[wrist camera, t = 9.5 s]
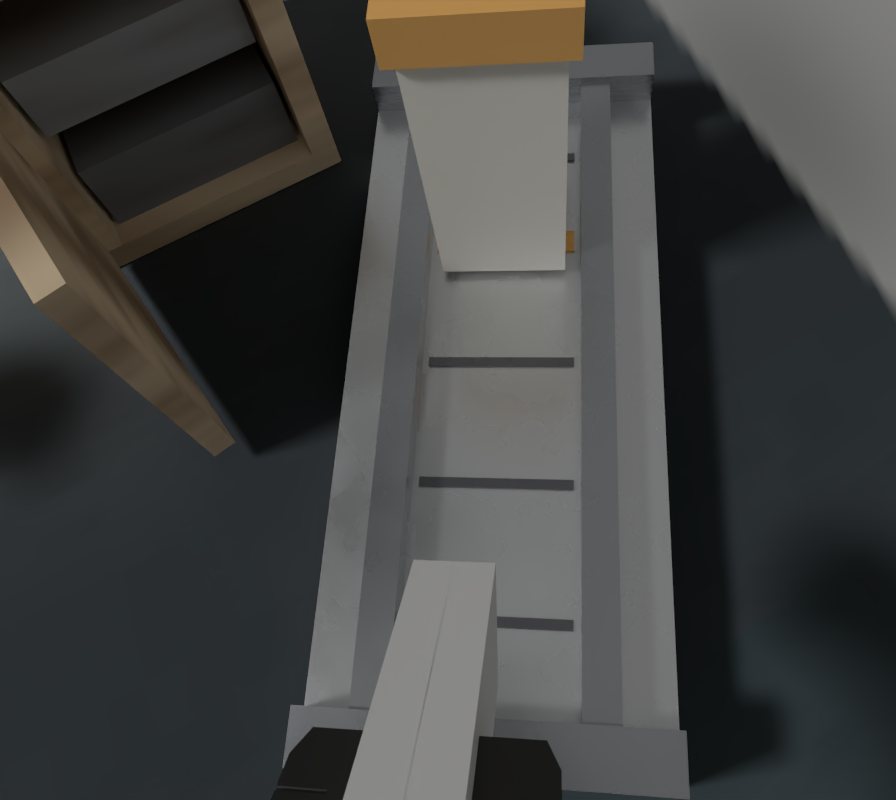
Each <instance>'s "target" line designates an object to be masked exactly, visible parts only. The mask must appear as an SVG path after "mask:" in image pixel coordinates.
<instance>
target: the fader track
mask: <svg viewBox="0 0 896 800" xmlns="http://www.w3.org/2000/svg"><path fill="white" fill-rule="evenodd" d="M653 80H654V56H653V42H645V43H625V44H606V45H586V46H584V50H583V61H569V97H568V149H567V200H566V252H565V270H536V271H457V272H444V271H443V267H442V263H441V258H440V254H439V250H438V246H437V242H436V237H435V233H434V229H433V225H432V221H431V216H430V212H429V208H428V204H427V200H426V196H425V191H424V187H423V183H422V179H421V175H420V170H419V166H418V162H417V158H416V154H415V149H414V145H413V141H412V137H411V133H410V128H409V124H408V120H407V116H406V112H405V107H404V103H403V99H402V95H401V91H400V86H399V82H398V78H397V74H396V70H379V68H378V64H377V60H375V67H374V75H373V82H372V90H373V93H374V97H375V100H376V104H377V107H378V111H379V112H378V120H377V128H376V136H375V144H374V152H373V160H372V168H371V176H370V184H369V192H368V200H367V208H366V216H365V224H364V232H363V240H362V248H361V256H360V264H359V272H358V280H357V288H356V296H355V304H354V312H353V320H352V328H351V336H350V343H349V351H348V359H347V367H346V375H345V383H344V391H343V399H342V407H341V415H340V423H339V431H338V439H337V447H336V455H335V463H334V471H333V479H332V487H331V495H330V503H329V511H328V519H327V527H326V535H325V543H324V551H323V559H322V567H321V575H320V583H319V591H318V599H317V607H316V615H315V623H314V631H313V639H312V647H311V655H310V663H309V671H308V679H307V687H306V695H305V703H304V706H301V705H291V707H290V714H289V722H288V730H287V737H286V745H285V752H284V760H283V768H284V765H285V763H286V760H287V758H288V755H289V753H290V752H291V751H292V749H293V748H294V747H295V746H296V745H297V744H298V743H299V742H300V741H301V740H302V739H303V737H304V736H305V735H306V734H307V733H308V732H309V731H310V730H311V729H312V728H313V727H323V728H338V729H353V730H363V729H364V726H365V723H366V719H367V716H368V712H369V709H370V706H371V702H372V699H373V696H374V692H375V689H376V685H377V682H378V679H379V675H380V672H381V668H382V665H383V662H384V658H385V655H386V651H387V648H388V645H389V641H390V638H391V634H392V631H393V628H394V624H395V621H396V617H397V614H398V611H399V607H400V604H401V600H402V597H403V594H404V590H405V587H406V583H407V580H408V577H409V573H410V570H411V566H412V563H413V560H434V561H460V562H487V563H496V602H497V647H498V690H497V701H496V711H495V721H494V731H493V737H503V738H518V739H533V740H547V741H548V743H549V745H550V747H551V749H552V752H553V754H554V756H555V758H556V760H557V762H558V764H559V766H560V768H561V770H562V790H574V791H587V792H600V793H613V794H626V795H639V796H652V797H665V798H678V799H690V791H689V771H688V750H687V731H683V730H679V708H678V687H677V665H676V643H675V621H674V599H673V578H672V556H671V534H670V512H669V490H668V468H667V447H666V425H665V403H664V381H663V359H662V337H661V316H660V294H659V272H658V250H657V228H656V206H655V185H654V163H653V141H652V119H651V94H652V87H653Z"/></svg>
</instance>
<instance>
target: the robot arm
mask: <svg viewBox="0 0 896 800" xmlns="http://www.w3.org/2000/svg"><path fill="white" fill-rule="evenodd" d="M497 690H498V647H497V602H496V563H487V562H460V561H434V560H413V563H412V566H411V570H410V573H409V577H408V580H407V583H406V587H405V590H404V594H403V597H402V600H401V604H400V607H399V611H398V614H397V617H396V621H395V624H394V628H393V631H392V634H391V638H390V641H389V645H388V648H387V651H386V655H385V658H384V662H383V665H382V668H381V672H380V675H379V679H378V682H377V685H376V689H375V692H374V696H373V699H372V702H371V706H370V709H369V712H368V716H367V719H366V723H365V726H364V729H363V730H353V729H338V728H323V727H313V728H312V729H311V730H310V731H309V732H308V733H307V734H306V735H305V736H304V737H303V739H302V740H301V741H300V742H299V743H298V744H297V745H296V746H295V747H294V748H293V749H292V751H291V752H290V753H289V755H288V758H287V760H286V763H285V765H284V768H283V771H282V773H281V776H280V778H279V781H278V783H277V790H275V791H274V793H273V796H272V799H271V800H562V770H561V768H560V766H559V764H558V762H557V760H556V758H555V756H554V754H553V752H552V749H551V747H550V745H549V743H548V741H547V740H533V739H518V738H503V737H493V731H494V721H495V711H496V701H497Z"/></svg>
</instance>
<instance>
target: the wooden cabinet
mask: <svg viewBox="0 0 896 800" xmlns="http://www.w3.org/2000/svg"><path fill="white" fill-rule="evenodd" d="M339 162H341V158H340V155H339V153H338V150H337V147H336V144H335V142H334V139H333V136H332V134H331V131H330V128H329V125H328V123H327V120H326V117H325V115H324V112H323V109H322V106H321V104H320V101H319V98H318V96H317V93H316V90H315V87H314V85H313V82H312V79H311V77H310V74H309V71H308V68H307V66H306V63H305V60H304V58H303V55H302V52H301V49H300V47H299V44H298V41H297V39H296V36H295V33H294V30H293V28H292V25H291V22H290V20H289V17H288V14H287V11H286V9H285V6H284V3H283V0H0V247H1V249H2V250H3V252H4V254H5V255H6V257H7V259H8V261H9V262H10V264H11V266H12V267H13V269H14V271H15V273H16V274H17V276H18V278H19V279H20V281H21V283H22V285H23V286H24V288H25V290H26V291H27V293H28V295H29V297H30V298H31V300H32V302H33V304H34V305H36V306H37V307H38V308H39V309H40V310H41V311H43V312H44V313H45V314H46V315H47V316H49V317H50V318H51V319H52V320H53V321H55V322H56V323H57V324H58V325H59V326H60V327H62V328H63V329H64V330H65V331H66V332H68V333H69V334H70V335H71V336H72V337H74V338H75V339H76V340H77V341H78V342H79V343H81V344H82V345H83V346H84V347H85V348H87V349H88V350H89V351H90V352H91V353H93V354H94V355H95V356H96V357H97V358H99V359H100V360H101V361H102V362H103V363H104V364H106V365H107V366H108V367H109V368H110V369H112V370H113V371H114V372H115V373H116V374H118V375H119V376H120V377H121V378H122V379H123V380H125V381H126V382H127V383H128V384H129V385H131V386H132V387H133V388H134V389H135V390H137V391H138V392H139V393H140V394H141V395H142V396H144V397H145V398H146V399H147V400H148V401H150V402H151V403H152V404H153V405H154V406H156V407H157V408H158V409H159V410H160V411H161V412H163V413H164V414H165V415H166V416H167V417H169V418H170V419H171V420H172V421H173V422H175V423H176V424H177V425H178V426H179V427H181V428H182V429H183V430H184V431H185V432H186V433H188V434H189V435H190V436H191V437H192V438H194V439H195V440H196V441H197V442H198V443H200V444H201V445H202V446H203V447H204V448H205V449H207V450H208V451H209V452H210V453H211V454H213V455H214V456H216V455H218V454H219V453H221V452H222V451H223V450H225V449H226V448H228V447H229V446H230V445H232V444H233V443H235V441H234V440H233V438H232V437H231V435H230V434H229V432H228V430H227V429H226V427H225V426H224V424H223V423H222V421H221V420H220V418H219V417H218V415H217V414H216V412H215V411H214V409H213V408H212V406H211V405H210V403H209V402H208V400H207V399H206V397H205V396H204V394H203V393H202V391H201V390H200V388H199V387H198V385H197V384H196V382H195V381H194V379H193V378H192V376H191V375H190V373H189V372H188V370H187V369H186V367H185V366H184V364H183V363H182V361H181V360H180V358H179V357H178V355H177V354H176V352H175V351H174V349H173V347H172V346H171V344H170V343H169V341H168V340H167V338H166V337H165V335H164V334H163V332H162V331H161V329H160V328H159V326H158V325H157V323H156V322H155V320H154V319H153V317H152V316H151V314H150V313H149V311H148V310H147V308H146V307H145V305H144V304H143V302H142V301H141V299H140V298H139V296H138V295H137V293H136V292H135V290H134V289H133V287H132V286H131V284H130V283H129V281H128V280H127V278H126V277H125V275H124V274H123V272H122V271H121V269H120V268H119V267H121V266H123V265H125V264H127V263H129V262H131V261H133V260H135V259H137V258H140V257H142V256H144V255H146V254H148V253H150V252H152V251H154V250H156V249H158V248H161V247H163V246H165V245H167V244H169V243H171V242H173V241H175V240H177V239H179V238H182V237H184V236H186V235H188V234H190V233H192V232H194V231H196V230H198V229H200V228H202V227H205V226H207V225H209V224H211V223H213V222H215V221H217V220H219V219H221V218H223V217H226V216H228V215H230V214H232V213H234V212H236V211H238V210H240V209H242V208H244V207H247V206H249V205H251V204H253V203H255V202H257V201H259V200H261V199H263V198H265V197H267V196H270V195H272V194H274V193H276V192H278V191H280V190H282V189H284V188H286V187H288V186H291V185H293V184H295V183H297V182H299V181H301V180H303V179H305V178H307V177H309V176H312V175H314V174H316V173H318V172H320V171H322V170H324V169H326V168H328V167H330V166H332V165H335V164H337V163H339Z"/></svg>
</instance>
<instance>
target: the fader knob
mask: <svg viewBox="0 0 896 800" xmlns="http://www.w3.org/2000/svg"><path fill="white" fill-rule="evenodd" d="M366 22H367V26H368V30H369V34H370V37H371V41H372V45H373V49H374V53H375V57H376V60H377V64H378V68H379V70H396V74H397V78H398V82H399V86H400V91H401V95H402V99H403V103H404V107H405V112H406V116H407V120H408V124H409V128H410V133H411V137H412V141H413V145H414V149H415V154H416V158H417V162H418V166H419V170H420V175H421V179H422V183H423V187H424V191H425V196H426V200H427V204H428V208H429V212H430V216H431V221H432V225H433V229H434V233H435V237H436V242H437V246H438V250H439V254H440V258H441V263H442V267H443V271H444V272H457V271H536V270H565V252H566V200H567V149H568V97H569V61H583V50H584V25H585V0H369V1H368V8H367V15H366Z"/></svg>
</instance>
